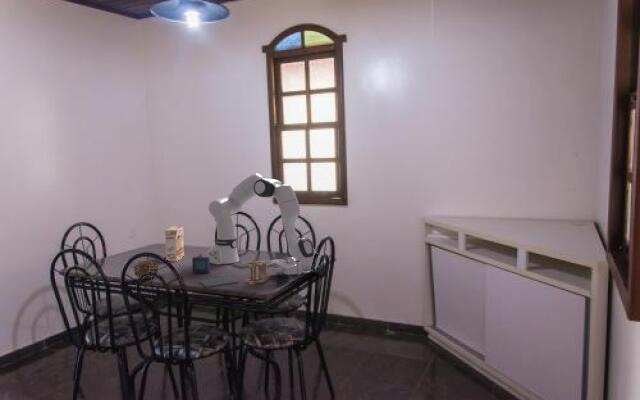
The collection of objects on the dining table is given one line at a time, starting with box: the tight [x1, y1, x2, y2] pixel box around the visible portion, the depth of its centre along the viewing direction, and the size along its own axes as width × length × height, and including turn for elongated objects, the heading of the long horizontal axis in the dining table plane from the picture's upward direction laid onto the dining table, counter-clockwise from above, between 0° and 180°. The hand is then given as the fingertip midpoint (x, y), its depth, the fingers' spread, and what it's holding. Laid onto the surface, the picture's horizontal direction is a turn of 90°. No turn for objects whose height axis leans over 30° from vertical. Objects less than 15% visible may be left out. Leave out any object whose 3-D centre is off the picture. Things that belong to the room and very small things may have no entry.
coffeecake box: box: [164, 225, 185, 263], centre depth 288 cm, size 15×7×20 cm, turn 179°
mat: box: [199, 276, 238, 289], centre depth 237 cm, size 16×11×1 cm
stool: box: [245, 260, 267, 285], centre depth 237 cm, size 9×6×10 cm, turn 121°
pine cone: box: [133, 259, 168, 280], centre depth 248 cm, size 22×10×10 cm, turn 148°
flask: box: [191, 253, 211, 275], centre depth 255 cm, size 9×3×11 cm, turn 95°
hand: (269, 268), depth 241 cm, fingers open, 8 cm apart
